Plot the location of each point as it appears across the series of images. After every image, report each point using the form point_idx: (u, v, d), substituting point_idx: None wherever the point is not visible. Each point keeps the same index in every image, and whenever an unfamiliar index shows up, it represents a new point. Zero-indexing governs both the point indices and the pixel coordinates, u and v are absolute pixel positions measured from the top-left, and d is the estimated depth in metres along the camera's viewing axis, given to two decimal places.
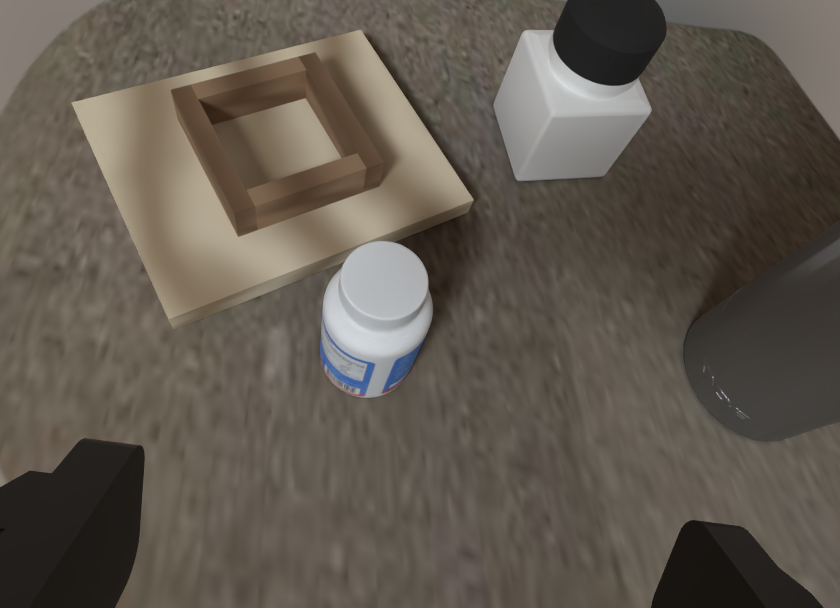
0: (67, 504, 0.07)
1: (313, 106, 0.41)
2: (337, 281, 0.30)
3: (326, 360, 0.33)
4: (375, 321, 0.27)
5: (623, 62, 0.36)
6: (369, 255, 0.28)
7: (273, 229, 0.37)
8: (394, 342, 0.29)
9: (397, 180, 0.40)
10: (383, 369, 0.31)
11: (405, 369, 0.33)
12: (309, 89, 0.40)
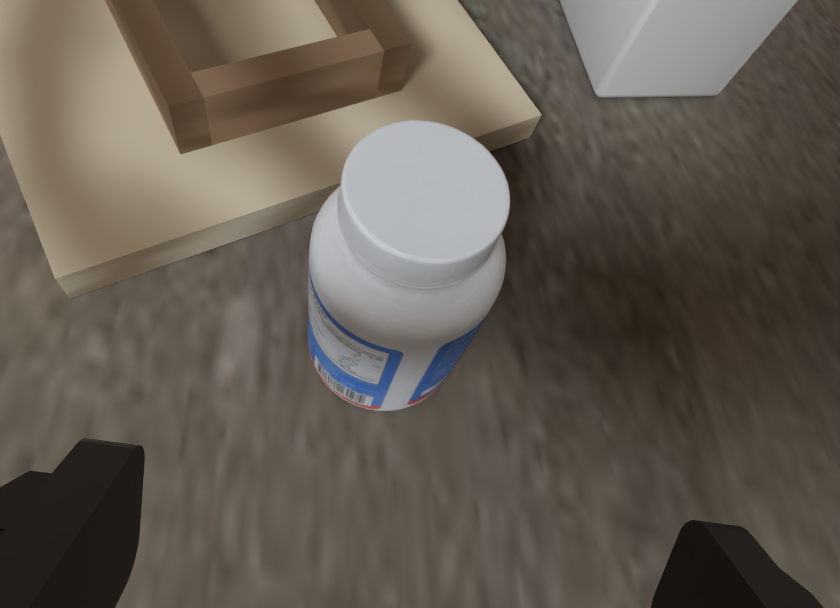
0: (67, 504, 0.07)
1: None
2: (336, 202, 0.16)
3: (317, 349, 0.20)
4: (410, 266, 0.14)
5: None
6: (397, 144, 0.15)
7: (236, 144, 0.24)
8: (440, 312, 0.15)
9: (428, 83, 0.27)
10: (416, 363, 0.17)
11: (450, 365, 0.19)
12: None
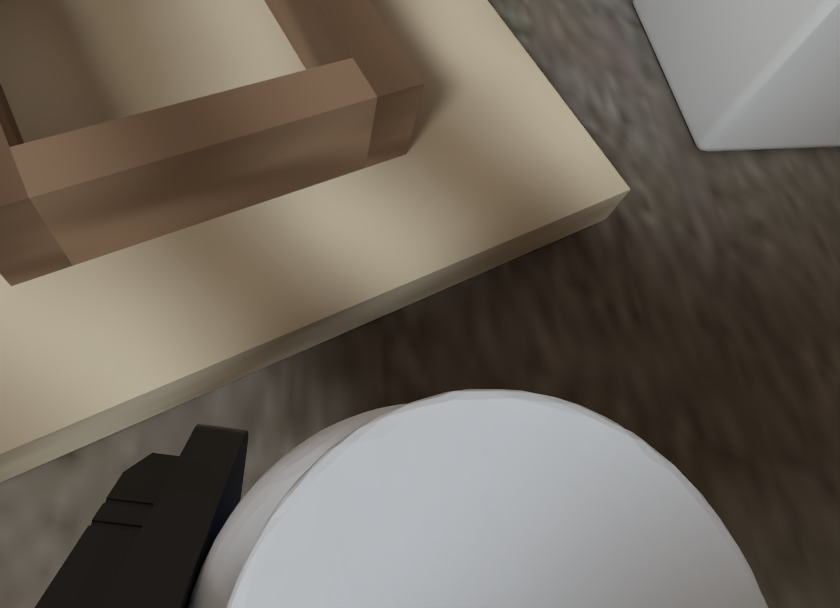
0: (201, 480, 0.08)
1: None
2: (244, 557, 0.06)
3: None
4: None
5: None
6: (412, 495, 0.04)
7: (119, 262, 0.13)
8: None
9: (450, 140, 0.17)
10: None
11: None
12: None
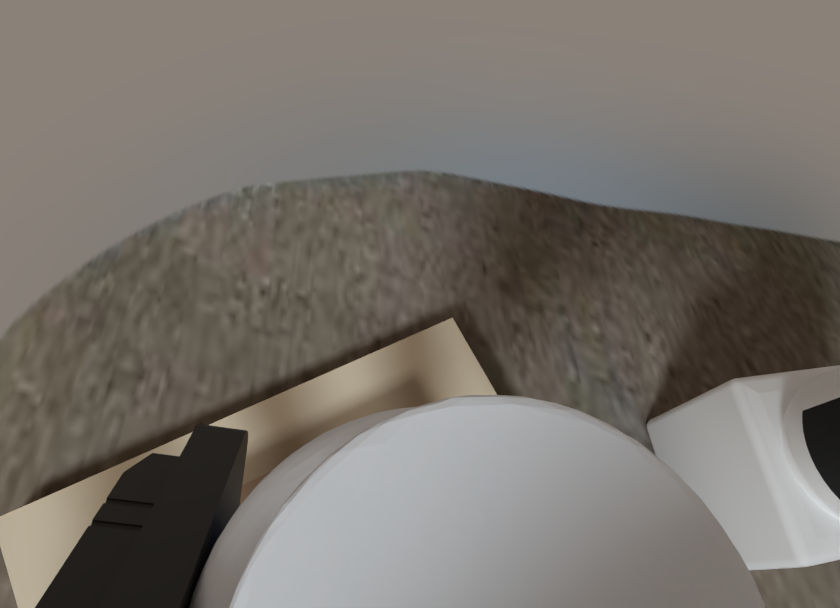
0: (202, 480, 0.08)
1: None
2: (244, 562, 0.06)
3: None
4: None
5: None
6: (413, 502, 0.04)
7: None
8: None
9: None
10: None
11: None
12: None
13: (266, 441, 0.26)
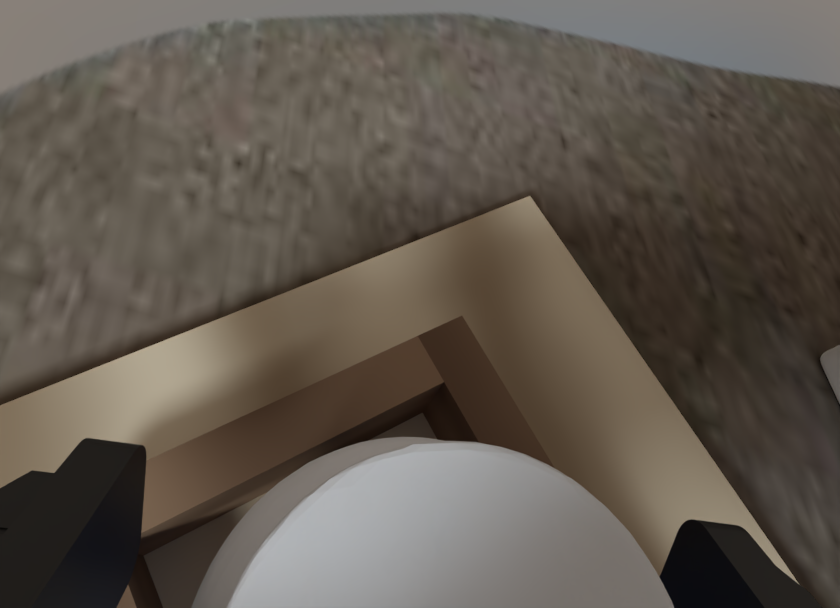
0: (70, 504, 0.07)
1: None
2: (235, 582, 0.07)
3: None
4: None
5: None
6: (376, 538, 0.05)
7: None
8: None
9: None
10: None
11: None
12: (444, 416, 0.14)
13: (242, 375, 0.15)
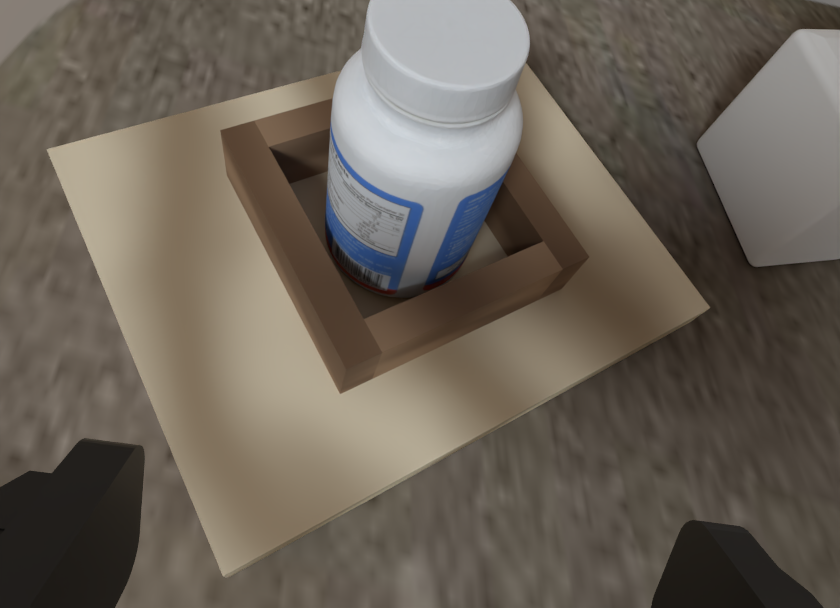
0: (67, 504, 0.07)
1: None
2: (358, 59, 0.17)
3: (335, 226, 0.20)
4: (434, 94, 0.14)
5: None
6: None
7: (398, 375, 0.21)
8: (461, 159, 0.16)
9: (588, 277, 0.24)
10: (435, 224, 0.18)
11: (466, 240, 0.20)
12: None
13: None
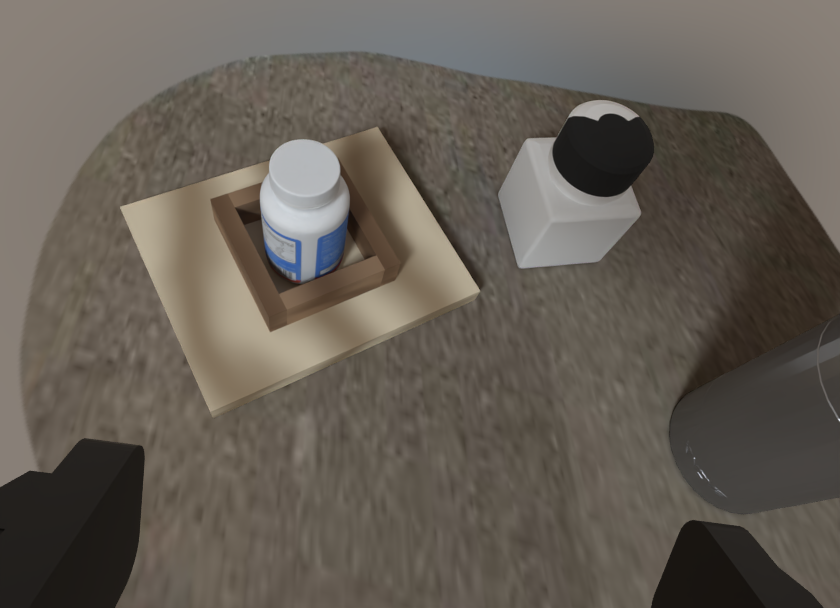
0: (67, 504, 0.07)
1: None
2: None
3: (267, 248, 0.40)
4: (295, 198, 0.34)
5: (614, 180, 0.40)
6: (293, 149, 0.35)
7: (300, 324, 0.41)
8: (314, 221, 0.36)
9: (411, 273, 0.45)
10: (309, 248, 0.38)
11: (331, 255, 0.40)
12: None
13: None
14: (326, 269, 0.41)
